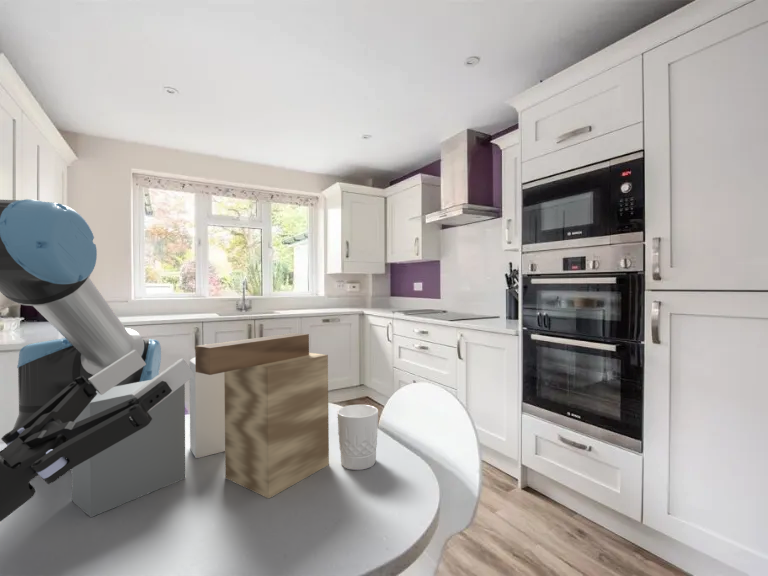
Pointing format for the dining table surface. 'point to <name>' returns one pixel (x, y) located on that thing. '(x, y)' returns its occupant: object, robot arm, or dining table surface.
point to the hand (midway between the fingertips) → (162, 361)
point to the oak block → (276, 423)
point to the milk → (207, 413)
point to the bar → (249, 352)
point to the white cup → (358, 436)
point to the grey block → (132, 454)
